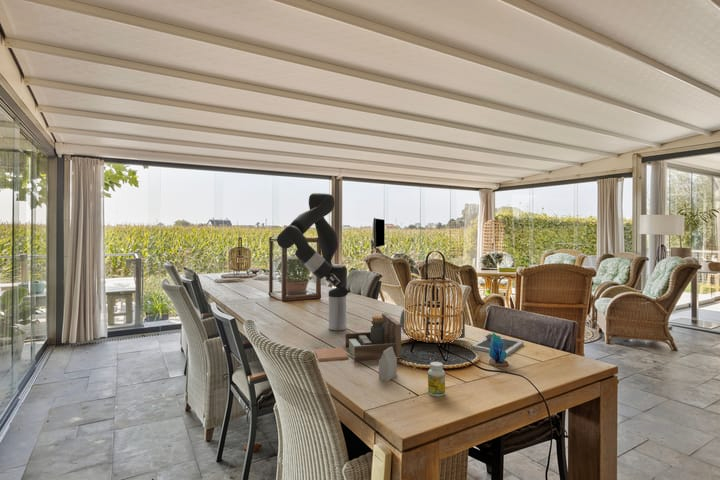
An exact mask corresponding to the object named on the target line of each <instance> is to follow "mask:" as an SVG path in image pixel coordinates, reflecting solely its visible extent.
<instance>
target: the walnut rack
mask: <svg viewBox="0 0 720 480" xmlns="http://www.w3.org/2000/svg"><path fill="white" fill-rule="evenodd" d="M381 316H382V317H383V320H382V321H383V322H384V323H383V324H382V326H383V327H384V344H374V345H360V346H354V355H353V357H354V362H355V363H356V362H369V361H370V362H371V361H380V359H381V357H382V354H383V351H385V350H387V349H388V348H390V347H393V351H394V353H395V356H396V357H401V358H402V327H401V324H400V321H398V320H396V319H395V318H393V316H391V315H389V314H388V313H387V312H384V313H381ZM359 335H365V336H366V337H367V338H368V339H369V340H370V341H371V331H363V332H362V331H361V332H345V335H344V336H345V341H344V343H345V344H344V346H345V348H349V339H356V340H357V341H358V336H359Z"/></svg>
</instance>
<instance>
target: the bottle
mask: <svg viewBox="0 0 720 480" xmlns="http://www.w3.org/2000/svg"><path fill="white" fill-rule="evenodd" d="M371 319H372V320H371V324H372V325H371V326H370V332H371V342H372V345H374V344H384V327H383V326H382V324H383V323H384V322H383V321H382V320H383V317H382V315H373V316H371Z"/></svg>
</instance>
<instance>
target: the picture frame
mask: <svg viewBox="0 0 720 480" xmlns="http://www.w3.org/2000/svg"><path fill="white" fill-rule="evenodd" d="M492 334H493V333H492ZM492 334H491V333H489V334H487V335H485V336H484V338H482V339H480V340H479V341H477V342H475V343H473V344H471V346H470V349H471V350H476V351H481V352H484V353H485V352H486V353H489V350H490V348H491V345H490V344H491V339H492ZM497 336H498V337H500V338H501V339H502V340H503V341H504V346H503V351H504V350H505V352H506V357H508V356H510V355H511V354H512V353H514V352H515V351H517V350H518V349H520V348H521V347H522V346H524V343H525V342H524V341H521V340H515V339H511V338H510V339H509V338H506V337H505V338H504V337H501V336H499V335H497ZM491 349H492V348H491ZM503 351H502V352H503Z"/></svg>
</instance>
